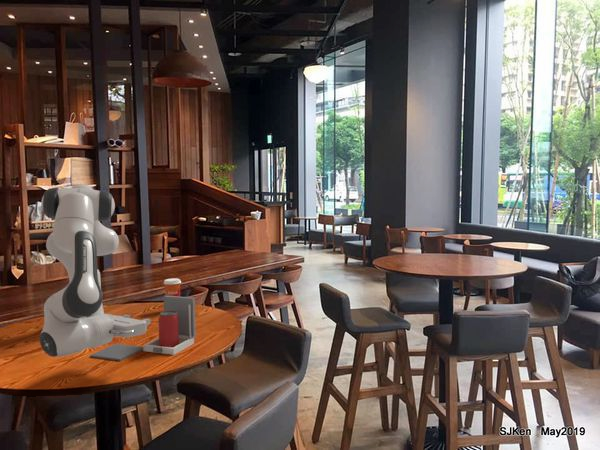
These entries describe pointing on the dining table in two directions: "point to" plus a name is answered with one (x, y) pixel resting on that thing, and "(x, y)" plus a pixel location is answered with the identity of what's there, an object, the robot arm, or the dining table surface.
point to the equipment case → (185, 323)
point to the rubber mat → (117, 352)
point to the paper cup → (172, 287)
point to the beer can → (168, 329)
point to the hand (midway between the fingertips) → (139, 319)
